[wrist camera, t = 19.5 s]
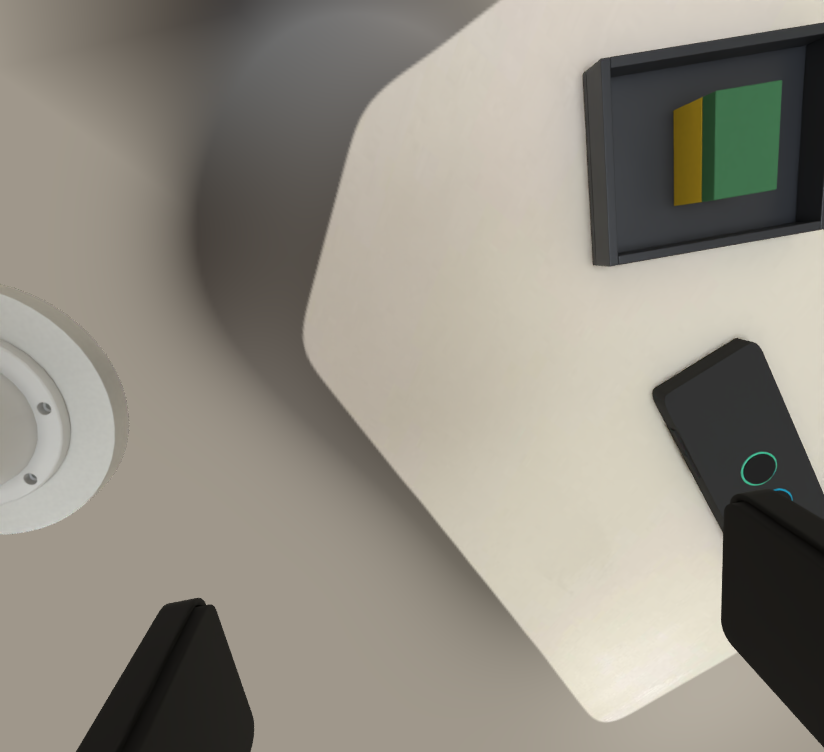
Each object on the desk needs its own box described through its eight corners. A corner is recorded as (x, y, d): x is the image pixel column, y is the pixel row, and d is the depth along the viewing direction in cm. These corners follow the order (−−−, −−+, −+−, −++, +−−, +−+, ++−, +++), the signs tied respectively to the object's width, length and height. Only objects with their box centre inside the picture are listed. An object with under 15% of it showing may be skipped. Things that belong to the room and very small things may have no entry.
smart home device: (754, 581, 40) (660, 399, 34) (739, 568, 41) (647, 392, 36) (843, 531, 39) (760, 338, 34) (823, 520, 41) (742, 333, 35)
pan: (592, 265, 33) (609, 266, 31) (582, 73, 30) (600, 58, 27) (796, 229, 34) (828, 228, 31) (808, 37, 30) (845, 18, 28)
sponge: (729, 196, 32) (777, 189, 28) (673, 206, 32) (714, 200, 28) (731, 100, 30) (783, 79, 27) (673, 110, 30) (715, 90, 27)
